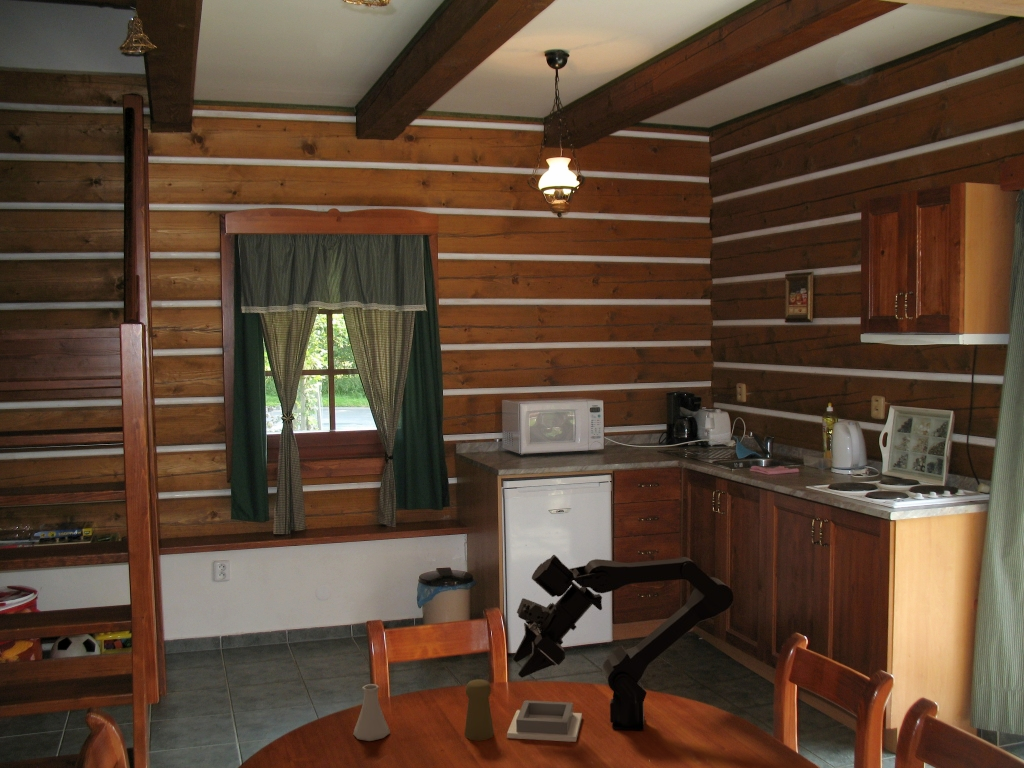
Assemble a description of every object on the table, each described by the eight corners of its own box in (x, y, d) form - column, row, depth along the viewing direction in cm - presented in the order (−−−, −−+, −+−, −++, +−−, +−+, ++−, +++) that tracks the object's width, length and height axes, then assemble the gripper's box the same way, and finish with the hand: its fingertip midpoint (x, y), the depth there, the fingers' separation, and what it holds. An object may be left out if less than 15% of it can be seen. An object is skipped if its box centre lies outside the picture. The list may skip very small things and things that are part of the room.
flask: (346, 735, 190) (345, 687, 190) (374, 724, 195) (373, 677, 195) (368, 745, 185) (367, 696, 185) (396, 733, 190) (395, 686, 190)
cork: (493, 740, 186) (492, 686, 186) (463, 740, 186) (462, 687, 186) (494, 728, 192) (493, 676, 192) (465, 728, 192) (464, 676, 192)
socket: (581, 717, 197) (581, 701, 196) (575, 741, 185) (575, 724, 185) (517, 714, 199) (516, 698, 199) (507, 737, 187) (506, 720, 187)
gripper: (533, 574, 199) (484, 629, 198) (546, 598, 181) (492, 658, 180) (570, 608, 200) (522, 662, 200) (587, 634, 182) (534, 694, 181)
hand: (517, 668), depth 190 cm, fingers open, 9 cm apart
